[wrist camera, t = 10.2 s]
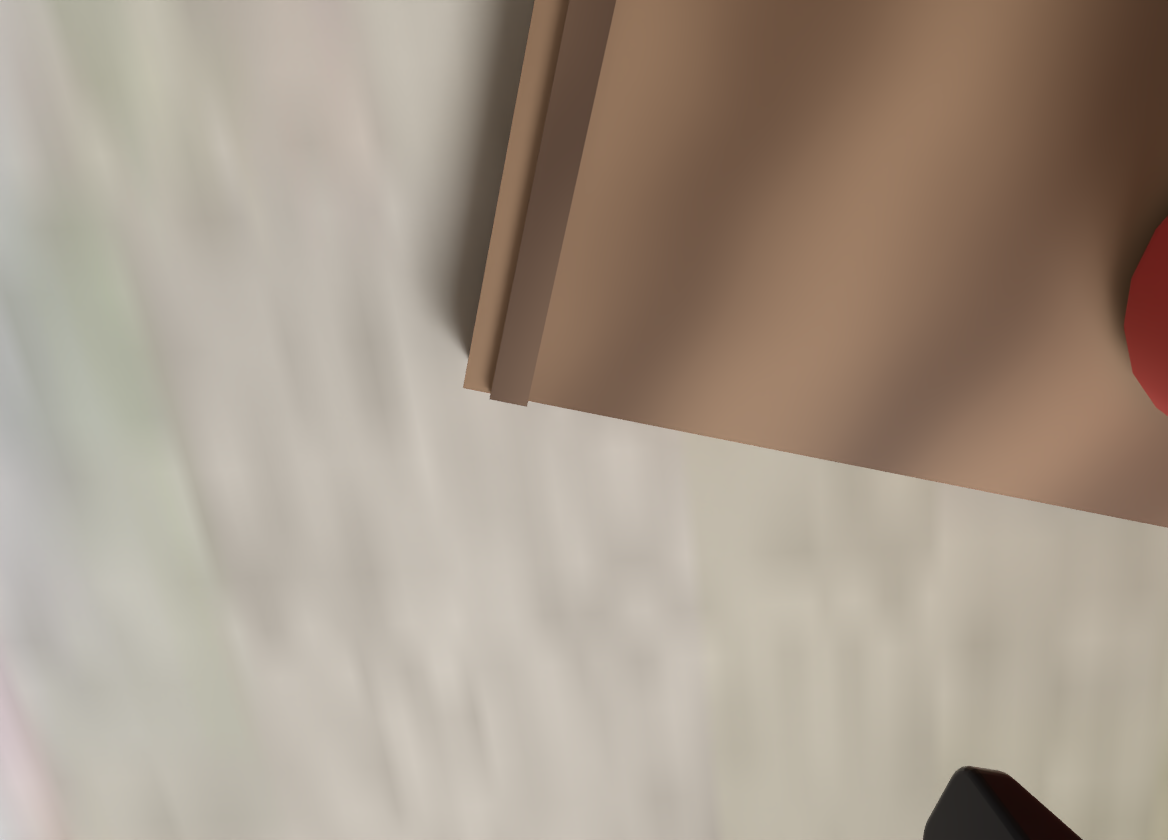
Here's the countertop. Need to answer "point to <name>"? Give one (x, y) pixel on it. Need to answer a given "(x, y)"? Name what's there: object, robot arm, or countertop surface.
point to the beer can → (1150, 319)
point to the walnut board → (842, 233)
